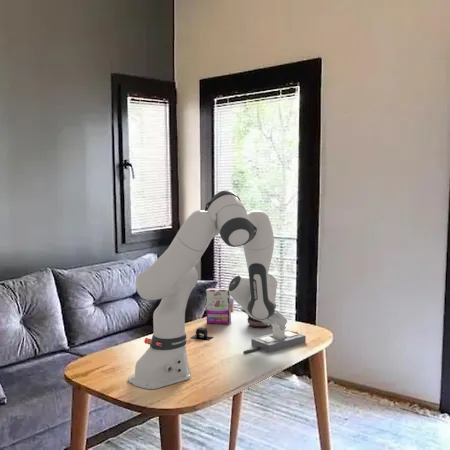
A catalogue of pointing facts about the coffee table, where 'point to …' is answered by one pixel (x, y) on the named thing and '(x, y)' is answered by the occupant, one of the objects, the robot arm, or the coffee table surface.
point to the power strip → (276, 342)
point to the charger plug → (278, 333)
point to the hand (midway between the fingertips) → (276, 326)
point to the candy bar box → (218, 306)
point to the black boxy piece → (201, 337)
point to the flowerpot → (257, 322)
